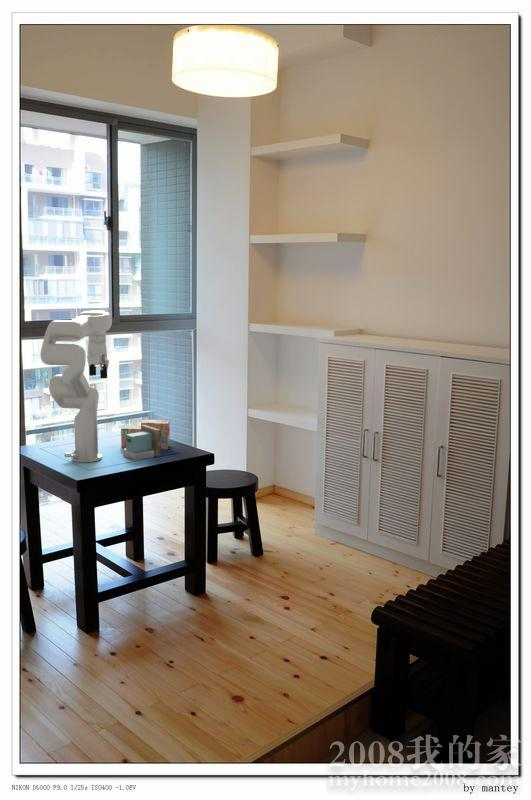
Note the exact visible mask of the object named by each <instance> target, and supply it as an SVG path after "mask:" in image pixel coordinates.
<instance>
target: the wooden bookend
mask: <svg viewBox="0 0 531 800" xmlns="http://www.w3.org/2000/svg"><path fill="white" fill-rule="evenodd" d="M140 426H141V432H143V431H146V432H149V433H152V449H148V450H143V451H138V452H133V453H132V452H130V451H127V450H126V448H122V450H123V451H122V452H123V453H122V455H123V457H126V458H128V459H131V460H133V459H134V461H140V460H139V459H141V460H145V459H144V458H146V459H150V457H151V458H155V457H154V456H156V458H158V456H159V457H161V449H160V429H157V428H154V427H151V426H148V425H141V424H140Z"/></svg>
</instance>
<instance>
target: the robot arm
mask: <svg viewBox="0 0 531 800" xmlns="http://www.w3.org/2000/svg"><path fill="white" fill-rule="evenodd" d="M112 325H113V318H112V315H111V314H110V313H109V312H106V311H103V310H90V311H83V312H80V313H79V315H78V316H76V317H75V318H73V319H71V320H59V319H56V320H51V321H50V322H49V324H48V326H47V328H46V330H45V333H44V337H43V341H42V345H41V348H40V360H41V362H42V363H43V364H44V365H48V366H66V368H65V369H64V370H63V372H62V373H61V374H54V375H52V376H51V378H50V379H49V382H48V389H49V390H48V391H49V394H50V396H51V397H52V399H53V401H54V402H55V403H56V405H57V406H58V407H59V408H61V409H76V410H79V411H78V412H77V413H76V415H75V417H74V420H73V422H74V423H73V425H74V426H73V427H74V448H72V451H70V452H65V453H64V457H65V458H66V459H67V458H71V460H72V461H73V462H76V463H83V464H84V463H93V462H99V461H100V460H102V458H103V456H102V454H101V453H99V445H98V443H99V441H98V440H99V439H98V437H99V436H98V406H99V398H100V395H99V391H98V390H97V389H96V388H95V387H93V386H90V385H89V382H88V379H87V378H86V376H85V374H84V373H85V368H86V359H87V364H88V372H89V376H93V377H94V376H96V375H97V366H99V367H100V369H99V375H100V376H99V377H100V379H107V378H108V370H109V369H108V367H109V362H110V359H108V353H107V352H108V351H107V344H106V343H107V335H106V333H107V331H109V330H110V329H111V327H112ZM86 337H88V343H87V355H86V350H85V349H84V348H83V347H82V346H81V345H78V344H74V343H75V342H79V341H81V340H83V339H84V338H86ZM56 342H68V343H56ZM73 342H74V343H73ZM72 343H73V344H72Z"/></svg>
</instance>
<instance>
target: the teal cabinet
mask: <svg viewBox="0 0 531 800" xmlns="http://www.w3.org/2000/svg"><path fill="white" fill-rule="evenodd" d="M125 449H126V450H127V451H130V452H132V453H133V452H138V451H143V450H148V449H152V433H149V432H146V431H143V432H138V433H132V434H126V448H125Z"/></svg>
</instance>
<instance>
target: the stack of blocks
mask: <svg viewBox="0 0 531 800" xmlns="http://www.w3.org/2000/svg"><path fill="white" fill-rule="evenodd" d="M141 425H148V426H151V427H154V428H157V429H160V450H168V449H169V448H168V447H170V445H171V444H170V442H171V441H170V440H171V439H170V431H171V429H170V428H171V427H170V420H163V419H142V420H141V422H140V425H123V426H122V427H121V428H120V435H121V436H120V437H121V438H120V439H121V441H120V442H121V443H120V444H121V445H120V446H121V449H126V434H132V433H138V432H141Z"/></svg>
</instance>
